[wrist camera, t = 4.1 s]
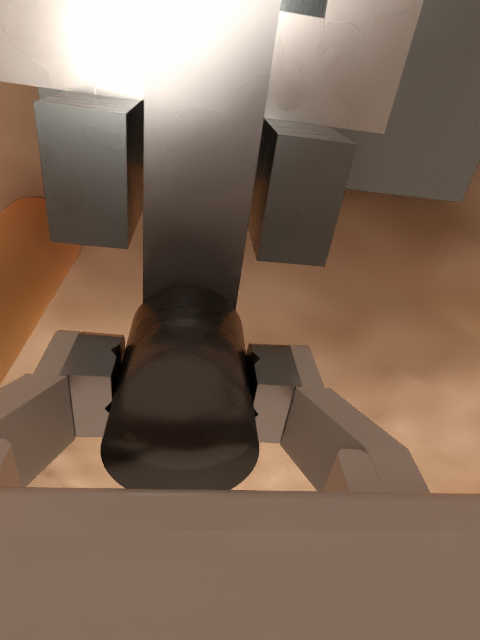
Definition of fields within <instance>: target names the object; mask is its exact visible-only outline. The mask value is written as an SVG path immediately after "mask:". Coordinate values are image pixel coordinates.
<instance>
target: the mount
mask: <svg viewBox="0 0 480 640" xmlns="http://www.w3.org/2000/svg"><path fill="white" fill-rule="evenodd" d="M144 26H145V0H0V81H1V82H8V83H15V84H23V85H30V86H37V87H38V92H39V100H36V101H33V104H34V112H35V120H36V128H37V136H38V145H39V153H40V161H41V169H42V177H43V185H44V193H45V201H46V210H47V218H48V226H49V234H50V242H55V243H66V244H77V245H88V246H99V247H110V248H122V249H128V248H129V245H130V242H131V239H132V237H133V234H134V231H135V229H136V226H137V223H138V221H139V218H140V215H141V212H142V210H143V199H144ZM479 160H480V0H281V5H280V12H279V19H278V25H277V32H276V39H275V46H274V52H273V59H272V66H271V73H270V80H269V86H268V93H267V100H266V107H265V113H264V120H263V127H262V134H261V140H260V147H259V154H258V161H257V168H256V174H255V181H254V188H253V195H252V201H251V208H250V215H249V222H248V228H249V232H250V236H251V240H252V244H253V248H254V252H255V255H256V259H257V261H267V262H278V263H289V264H301V265H312V266H323V267H325V264H326V260H327V256H328V253H329V249H330V245H331V241H332V238H333V234H334V230H335V226H336V223H337V219H338V215H339V211H340V208H341V204H342V200H343V196H344V193H345V189H350V190H359V191H367V192H376V193H384V194H393V195H402V196H410V197H419V198H427V199H436V200H444V201H453V202H462V200H463V198H464V195H465V193H466V191H467V188H468V186H469V184H470V181H471V179H472V177H473V174H474V172H475V169H476V167H477V165H478V162H479Z"/></svg>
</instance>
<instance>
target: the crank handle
mask: <svg viewBox="0 0 480 640" xmlns="http://www.w3.org/2000/svg"><path fill="white" fill-rule="evenodd" d="M280 5H281V0H145V26H144V199H143V304H142V305H141V306H140V307H139V308H138V310H137V312H136V313H135V316H134V318H133V321H132V325H131V329H130V333H129V337H128V341H127V345H126V349H125V353H124V357H123V361H122V364H121V368H120V372H119V376H118V380H117V384H116V388H115V392H114V396H113V400H112V404H111V407H110V411H109V415H108V419H107V423H106V427H105V431H104V435H103V439H102V443H101V458H102V462H103V464H104V467H105V469H106V470H107V472H108V473H109V474H110V476H111V477H112V478H113V479H114V480H115V481H116V482H117V483H119V484H120V485H121V486H123V487H124V488H126V489H185V490H230V489H232V488H234V487H235V486H237V485H238V484H239V483H241V482H242V481H243V480H244V479H245V478H246V477H247V476H248V475H249V474H250V473H251V471H252V470H253V468H254V467H255V465H256V463H257V460H258V456H259V441H258V434H257V427H256V420H255V413H254V406H253V399H252V392H251V385H250V378H249V371H248V364H247V356H246V349H245V342H244V335H243V328H242V323H241V320H240V317H239V315H238V313H237V311H236V303H237V296H238V289H239V283H240V276H241V269H242V262H243V256H244V249H245V242H246V235H247V229H248V222H249V215H250V208H251V201H252V195H253V188H254V181H255V174H256V168H257V161H258V154H259V147H260V140H261V134H262V127H263V120H264V113H265V107H266V100H267V93H268V86H269V80H270V73H271V66H272V59H273V52H274V46H275V39H276V32H277V25H278V19H279V12H280Z"/></svg>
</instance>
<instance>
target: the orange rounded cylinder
mask: <svg viewBox="0 0 480 640" xmlns="http://www.w3.org/2000/svg"><path fill="white" fill-rule="evenodd" d="M80 249H81V245H77V244H66V243H55V242H50V234H49V226H48V218H47V210H46V201H45V199H44V198H39V197H25V198H21V199H18V200H16V201H14V202H12V203H11V204H10V205H9V206H7V207H6V208H5V209H4V210H2V211H1V212H0V385H1V383H2V382H3V380H4V378H5V377H6V375H7V373H8V372H9V370H10V368H11V367H12V365H13V363H14V362H15V360H16V358H17V356H18V355H19V353H20V351H21V350H22V348H23V346H24V345H25V343H26V341H27V340H28V338H29V336H30V335H31V333H32V331H33V330H34V328H35V326H36V325H37V323H38V321H39V320H40V318H41V316H42V315H43V313H44V311H45V310H46V308H47V306H48V305H49V303H50V301H51V300H52V298H53V296H54V295H55V293H56V291H57V290H58V288H59V286H60V285H61V283H62V281H63V280H64V278H65V276H66V275H67V273H68V271H69V270H70V268H71V266H72V265H73V263H74V261H75V260H76V258H77V256H78V254H79V252H80Z"/></svg>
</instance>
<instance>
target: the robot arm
mask: <svg viewBox="0 0 480 640" xmlns="http://www.w3.org/2000/svg"><path fill="white" fill-rule="evenodd" d="M124 352H125V338H124V335H117V334H105V333H93V332H79V331H65V330H59V331H57V332H56V333H55V334H54V336H53V338H52V339H51V341H50V343H49V345H48V347H47V349H46V351H45V353H44V355H43V357H42V359H41V360H40V362H39V364H38V366H37V368H36V370H35V372H34V374H25V375H23V376H22V377H20V378H18V379H16V380H15V381H13V382H11V383H9V384H8V385H6V386H4V387H2V388H1V389H0V640H480V494H463V493H430V491H429V489H428V487H427V485H426V483H425V481H424V479H423V477H422V475H421V473H420V471H419V469H418V467H417V465H416V463H415V461H414V459H413V457H412V455H411V454H410V452H409V450H408V449H407V448H406V447H405V446H403V445H402V444H401V443H399V442H398V441H397V440H396V439H394V438H393V437H392V436H390V435H389V434H388V433H387V432H385V431H384V430H383V429H382V428H380V427H379V426H378V425H376V424H375V423H374V422H373V421H371V420H370V419H369V418H367V417H366V416H365V415H364V414H362V413H361V412H360V411H358V410H357V409H356V408H355V407H353V406H352V405H351V404H349V403H348V402H347V401H346V400H344V399H343V398H342V397H340V396H339V395H338V394H337V393H335V392H334V391H333V390H332V389H329V388H324V385H323V382H322V379H321V377H320V374H319V371H318V369H317V366H316V363H315V360H314V358H313V355H312V352H311V349H310V347H308V346H306V345H270V344H251V343H249V345H248V349H247V354H246V356H247V364H248V371H249V378H250V385H251V392H252V399H253V406H254V413H255V420H256V427H257V434H258V441H259V442H267V443H281V444H280V445H281V446H282V448H283V449H284V450H285V451H286V453H287V454H288V455H289V456H290V458H291V459H292V460H293V461H294V463H295V464H296V465H297V466H298V467H299V469H300V470H301V471H302V472H303V474H304V475H305V476H306V477H307V479H308V480H309V481H310V482H311V484H312V485H313V486H314V487H315V489H316V490H317V491H318V492H317V491H255V490H185V489H112V488H41V487H26V486H27V485H28V484H29V483H30V482H31V481H32V480H33V479H34V478H35V477H36V476H37V475H38V474H39V473H40V472H42V471H43V470H44V469H45V468H46V467H47V466H48V465H49V464H50V463H51V462H52V461H53V460H54V459H55V458H56V457H57V456H58V455H59V454H60V453H61V452H62V451H63V450H64V449H65V448H66V447H67V446H68V445H69V444H70V443H71V442H73V441H74V440H75V437H103V435H104V431H105V427H106V423H107V419H108V415H109V411H110V407H111V404H112V400H113V396H114V392H115V388H116V384H117V380H118V376H119V372H120V368H121V364H122V360H123V356H124Z"/></svg>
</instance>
